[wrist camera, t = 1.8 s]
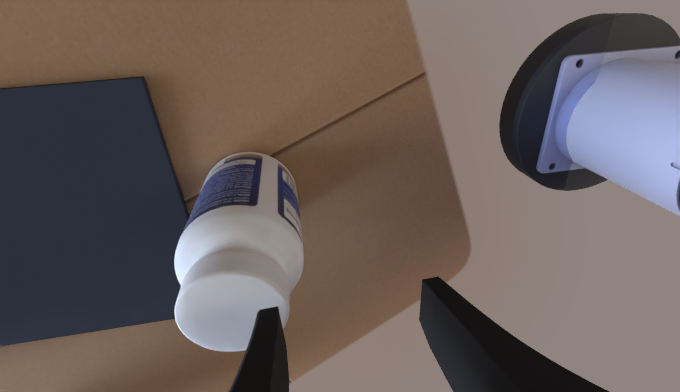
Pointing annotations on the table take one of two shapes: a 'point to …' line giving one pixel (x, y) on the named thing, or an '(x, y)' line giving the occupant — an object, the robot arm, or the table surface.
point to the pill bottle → (238, 251)
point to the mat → (85, 210)
